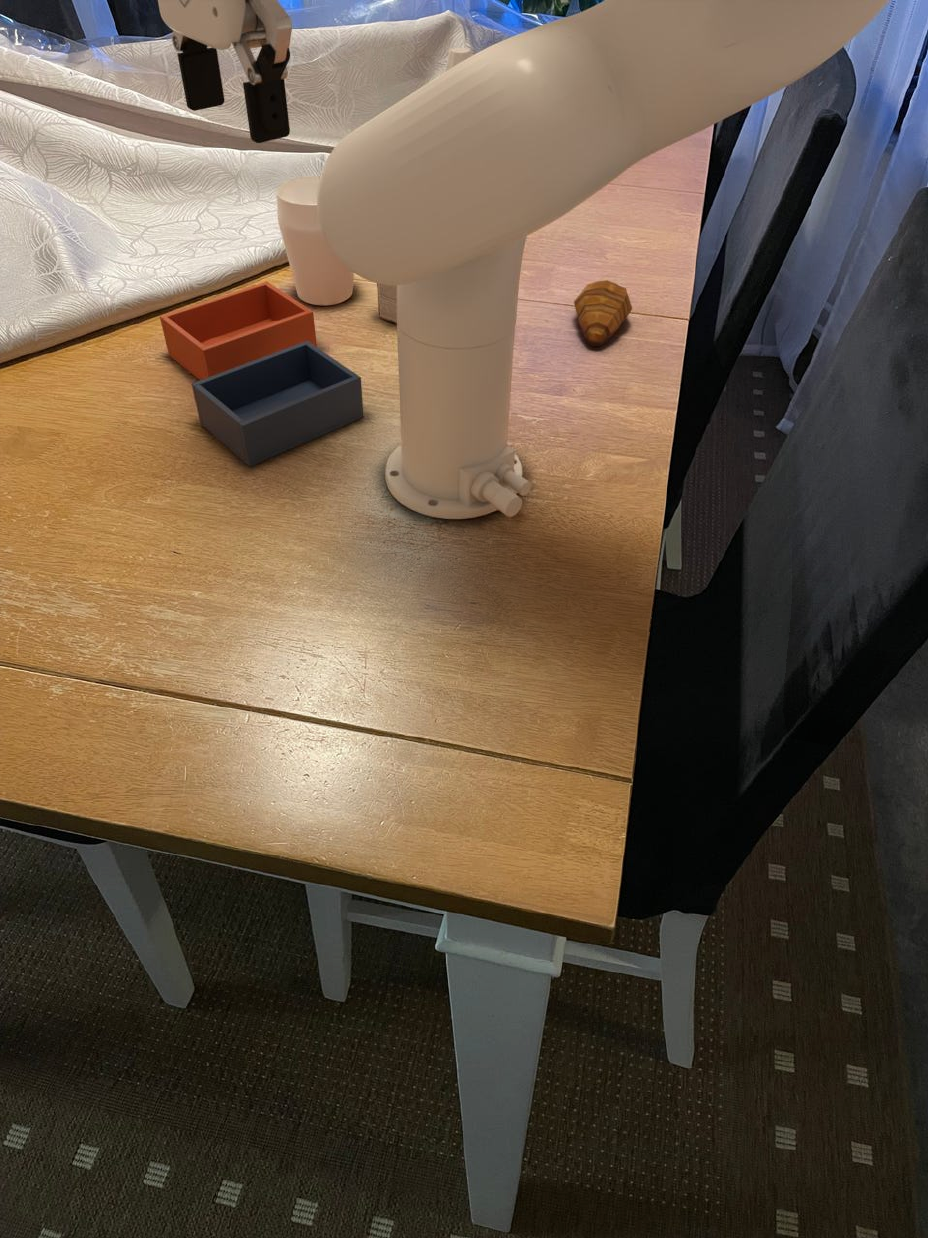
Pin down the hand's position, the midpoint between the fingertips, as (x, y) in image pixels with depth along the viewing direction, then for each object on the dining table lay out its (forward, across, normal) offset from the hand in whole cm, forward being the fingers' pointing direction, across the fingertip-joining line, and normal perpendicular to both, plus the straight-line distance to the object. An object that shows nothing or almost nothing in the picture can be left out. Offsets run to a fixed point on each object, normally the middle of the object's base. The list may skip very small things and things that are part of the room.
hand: (237, 122), depth 70 cm
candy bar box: (+26, -8, +25) cm, 37 cm away
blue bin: (+26, +2, -1) cm, 26 cm away
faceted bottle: (+26, -20, +41) cm, 53 cm away
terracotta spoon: (+26, -12, +3) cm, 29 cm away
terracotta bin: (+26, -12, +3) cm, 29 cm away
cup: (+26, -18, +18) cm, 37 cm away
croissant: (+26, +8, +39) cm, 48 cm away
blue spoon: (+26, +2, -1) cm, 26 cm away
